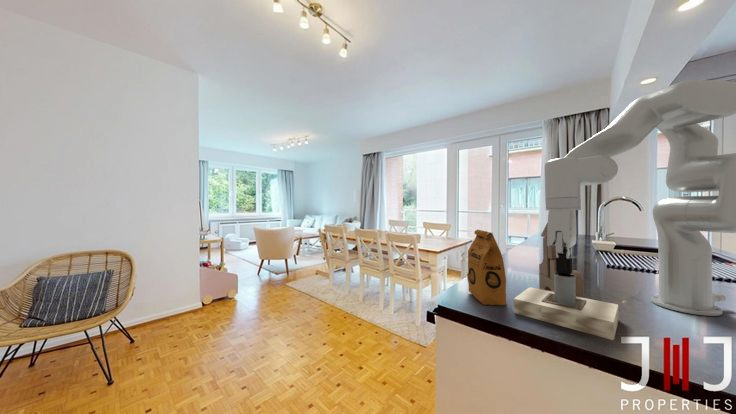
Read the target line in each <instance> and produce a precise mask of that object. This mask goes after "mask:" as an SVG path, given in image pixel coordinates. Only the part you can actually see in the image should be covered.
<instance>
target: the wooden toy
mask: <svg viewBox="0 0 736 414" xmlns="http://www.w3.org/2000/svg"><path fill="white" fill-rule="evenodd" d="M547 227H548V221H547V223H546V225H545V226H544V228H543V230H542V233H541V234H540V237H543V238H542V257H543V258H542V261H541V263H539V265H538V268H539V270H538V272H539V273H538V274H539V275H538V278H539V280H538V281H539V282H538V283H539V285H538V286H539V288H538V289H542V290H547V291H552V292H554V273H556V246H555V245H554V246H552V247H549V246H548V245H547ZM571 274H573V275H575V279H576V296H577V297H582V298H584V281H583V278H582V276H581V274H580V273H579V271H578V270H573V269H572V273H571Z"/></svg>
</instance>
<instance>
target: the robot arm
mask: <svg viewBox="0 0 736 414" xmlns="http://www.w3.org/2000/svg"><path fill="white" fill-rule="evenodd" d="M735 114H736V82H735V81H730V80H710V79H707V80H706V79H698V80H697V79H693V80H685V81H680V82H677V83H674V84H671V85H669V86H665V87H662V88H660V89H657V90H655V91H652V92H649V93H647V94H644V95H641V96H639V97H638V98H637V99H634V101H632V102H631V103H630V104H629V105H628V106H627V107H626V108H625V109H624V110H623V111H621V113H620V114H619V115H617V117H616V118H614V120H612V122H611V123H610V124H609V125H608V126H607V127H605V129H603V130H601V131H599V132H598V133H596V134H594V135H593V136H592V137H590V138H588V139H587V140H585V141H584V142H582V143H581V144H579V145H577V146H576V147H574V148H572V150H569V152H568V153H567V154H566V155H565V156H564V157H559V158H554V159H549V160H548V161H546V162H545V164H544V195H545V197H544V198H545V199H544V200H545V201H544V202H545V204H544V205H545V211H548V215H547V222H548V227H547V245H548V246H549V247H552V246H554V245H555V246H556V272H558V273H564V274H571V273H572V270H573V258H572V255H573V254H572V253H573V250H572V248H573V247H574V246H575V245H576V244H577V215H576V213H577V211H581V210H582V200H581V199H582V198H581V193H582V192H581V186H594V185H595V186H596V185H602V184H606V183H608V182H611V180H613V179H615V177H616V175H617V174H618V171H619V168H618V167H619V166H618V164H617V163H616V160H614V159H613V158H612V157H614V156H618V155H621V154H623V153H626V152H627V151H629V150H632V149H633V148H636V147H637V146H639V145H640V144H641V143H642V142H643V141H644V140H645V139H646V138H647V137H648V136H649V134H651V132H653V130H655V128H656V129H657V130H658V131H659V132H660V133H661V134H662V135H663V136H664V137H665V138H666V139H667V142H668V145H669V156H668V162H667V168H666V174H665V184H666V187H667V188H668V189H669V190H671V191H673V192H677V193H704V192H707V193H708V192H718V195H687V196H686V195H685V196H673V197H667V198H663V199H661V200H659V201H657V203H655V205H654V206H653V208H652V217H653V221H654V224H655V227H656V228H655V229H656V231H657V232H656V233H657V244H658V245H657V247H658V249H657V250H658V253H657V254H658V295H653V296H651V302H652V303H653V304H655V305H657V306H659V307H662V308H664V309H668V310H672V311H677V312H681V313H685V314H691V315H698V316H707V317H708V316H709V317H718V316H722V315H723V309H722V308H721V307H719V306H718V305H715V303H716V302H725V301H727V297H726V296H725V295H724V294H721V293H713V248H712V245H711V243H710V242H709V240H708V239H707V237H706V236H704V234H703V233H702V232H707V233H708V232H709V233H723V234H736V152H733V153H725V154H724V153H723V154H718V151H719V139H718V137H717V136H716V135H715V134H714V133H713V132H712V131H710V130H709V129H707V128H705V127H704V126H701V125H700V124H702V123H706V122H710V121H716V120H719V119H725V118H727V117H730V116H731V117H732V116H733V115H735Z"/></svg>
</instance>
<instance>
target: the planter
mask: <svg viewBox="0 0 736 414" xmlns="http://www.w3.org/2000/svg"><path fill="white" fill-rule="evenodd" d="M554 303H559V304H563V305H567V306H572V307H576V279H575V275H573V274H564V273H558V272H556V273H554Z"/></svg>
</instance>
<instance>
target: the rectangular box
mask: <svg viewBox="0 0 736 414" xmlns="http://www.w3.org/2000/svg"><path fill="white" fill-rule="evenodd" d="M513 313H514V314H517V315H520V316H524V317H527V318H531V319H536V320H539V321H543V322H546V323H549V324H553V325H557V326H561V327H564V328H566V329H567V328H568V329H570V330H573V331H574V330H575V331H579V332H582V333H585V334H590V335H593V336H596V337H597V336H598V337H600V338H604V339H608V340H610V341H615V337H616V332H617V328H618V323H619V321H620V320H619V304H616V303H611V302H606V301H601V300H595V299H593V298H592V299H591V298H586V297H583V298H582V297H577V296H576V307H572V306H567V305H563V304H559V303H554V292H552V291H547V290H542V289H539V288H537V287H536V288H535V287H531V286H530V287H527V288H526V289H525V290H523V291H522V292H521V293H519V294H518V295H516V296H515V297H514V298H513Z"/></svg>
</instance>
